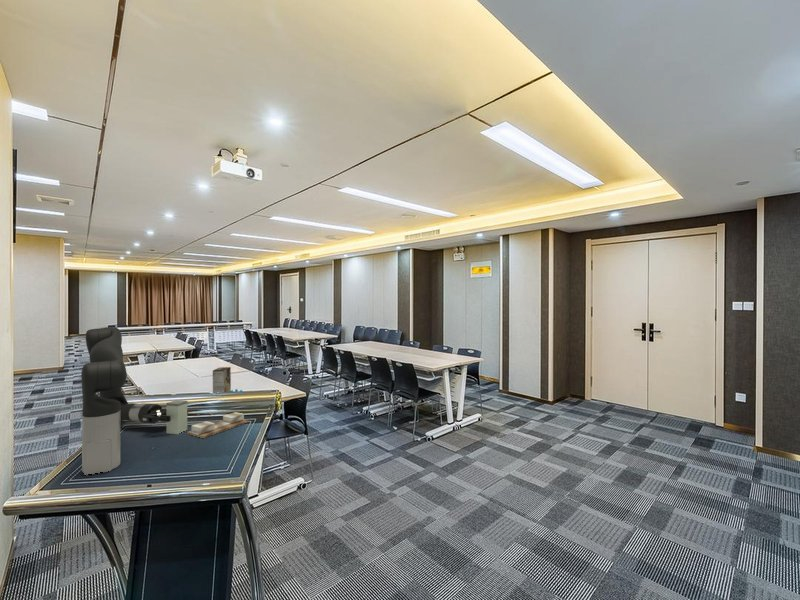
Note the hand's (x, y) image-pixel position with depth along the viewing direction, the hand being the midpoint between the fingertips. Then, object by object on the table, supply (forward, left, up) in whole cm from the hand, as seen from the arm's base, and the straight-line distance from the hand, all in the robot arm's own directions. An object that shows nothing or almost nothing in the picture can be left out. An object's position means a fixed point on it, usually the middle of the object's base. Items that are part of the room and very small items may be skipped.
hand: (178, 415), depth 142 cm
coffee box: (+50, -16, -7) cm, 53 cm away
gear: (+30, -23, -7) cm, 39 cm away
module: (+1, +1, -7) cm, 7 cm away
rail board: (-3, -14, -7) cm, 16 cm away
